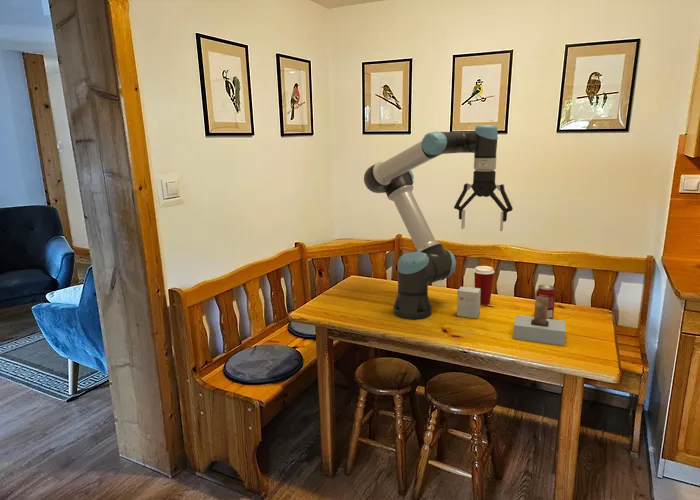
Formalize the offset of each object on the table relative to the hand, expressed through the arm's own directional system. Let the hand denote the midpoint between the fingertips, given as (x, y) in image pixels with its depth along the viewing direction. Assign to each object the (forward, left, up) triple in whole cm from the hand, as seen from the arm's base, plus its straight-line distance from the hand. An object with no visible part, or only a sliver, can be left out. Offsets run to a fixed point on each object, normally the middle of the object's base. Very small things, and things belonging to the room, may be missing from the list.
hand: (481, 229), depth 173 cm
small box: (-4, +3, -35) cm, 35 cm away
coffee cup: (-1, +19, -35) cm, 40 cm away
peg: (+22, -9, -35) cm, 42 cm away
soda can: (+23, +11, -35) cm, 43 cm away
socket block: (+22, -9, -35) cm, 42 cm away
